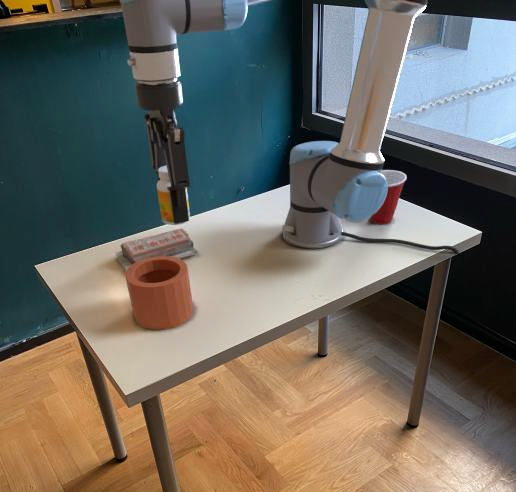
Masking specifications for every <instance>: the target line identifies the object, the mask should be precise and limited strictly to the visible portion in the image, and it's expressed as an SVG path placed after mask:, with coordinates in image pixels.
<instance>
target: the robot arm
mask: <svg viewBox="0 0 516 492" xmlns="http://www.w3.org/2000/svg"><path fill="white" fill-rule="evenodd" d="M271 1H273V0H119V4H120V6H121V10H122V12H121V13H122V17H123V22H124V28H125V33H126V34H125V35H126V39H127V44H128V45H127V46H128V52H129V57H130V58H129V59H127V61H126V62H127V65H128V66H129V67H131V70H132V76H133V79H134V80H136V82H135V83H134V91H135V92H134V93H135V97H136V105H137V107H138V108H139V109H141V110H142V111H143V110H144V111H148V112H147V113H143V120H144V123H145V126H146V133H147V139H148V146H149V153H150V160H151V168H152V170H153V171H155V175H156V177H157V182H158V181H159V180H160V178H159V172H158V169H159V168H160V167H163V166H167V170H168V175H169V179H170V184H171V187H167V189H168V191H170V198H171V205H172V212H173V219H174V223H175V224H178V223H183V222H185V223H187V222H190V219H189V216H188V207H187V199H186V191H185V188H186V187H187V188H190V185H191V183H190V176H189V167H188V161H187V152H186V151H187V150H186V145H185V144H186V143H185V129H184V127H179V122H178V118H176V113H175V109H176V108H179V107H182V106H183V103H184V96H183V87H182V82H181V80H180V79H179V77H180V76H181V74H182V73H181V66H180V65H181V64H180V57H179V47H178V42H177V35H186V34H198V33H209V32H227V31H230V30H236V29H239V28H241V27H242V26H243V25H244V23H245V21H246V19H247V14H248V8H249V7H250V8H251V7H253V6H257V5H261V4H264V3H265V4H266V3H268V2H271ZM364 2H365V5H366V6H367V11H368V13H367V18H366V22H365V26H364V30H363V35H362V40H361V44H360V49H359V54H358V58H357V63H356V67H355V71H354V76H353V81H352V84H351V85H352V86H351V89H350V94H349V99H348V103H347V108H346V113H345V117H344V122H343V126H342V130H341V135H340V140H339V142H336V141H332V140H315V141H308V142H304V143H300V144H297V145H295V146H293V147H292V149H291V150H290V155H289V162H288V165H289V209H288V212H287V214H286V218H285V221H284V223H283V224H282V237H283V239H284V241H285V242H286V243H289V244H290V245H292V246H294V247H298V248H303V249H323V248H327V247H332V246H334V245H336V244H337V243H339V242H340V241H341V240H342V238H343V237H347V238H351V239H354V240H357V241H361V242H367V243H390V244H391V243H392V244H401V245H405V246H411V247H415V248H419V249H424V250H428V251H429V250H430V251H443V250H449V251H452V252H453V253H454V254H456V255H459V254H461V253H460V251H459V250H458V248H456V247H455V246H452V245H435V246H434V245H427V244H423V243H417V242H414V241H409V240H404V239H399V238H398V239H396V238H372V237H363V236H360V235H357V234H353V233H349V232H345V231H343V225H342V221H341V220H345V221H347V222H350V223H360V222H364V221H366V220H368V219H370V217H371V216H372V215H373V214H375V213H376V212H377V211H378V210H379V209H380V207H381V206H382V204H383V203H384V201H385V199H386V196H387V192H388V183H387V182H386V178H385V177H384V176H383V174H381V171H382V170H383V167H384V164H385V158H384V157H383V155H382V153H381V151H380V150H381V148H382V147H381V146H382V142H383V139H384V136H385V132H386V127H387V123H388V120H389V117H390V113H391V108H392V106H393V105H392V104H393V101H394V98H395V93H396V89H397V85H398V82H399V78H400V73H401V70H402V67H403V62H404V59H405V55H406V52H407V47H408V43H409V40H410V36H411V33H412V28H413V24H414V21H415V18H416V17H417V16H418V15H419V14H420V13H422V12H423V11H424V10H425V9H426V7H427V4H428V0H364ZM183 224H184V223H183Z"/></svg>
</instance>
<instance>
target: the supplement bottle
mask: <svg viewBox="0 0 516 492" xmlns="http://www.w3.org/2000/svg"><path fill="white" fill-rule="evenodd" d="M158 172H159V176H158V178H160V180H159V181H158V180H157V183H156V190H157V197H158V205H159V211H160V217H161V221H162V223H164V224H165V225H169V226H180V225H182V224H185V223H186V222H183V223H178V224H175V223H174V219H173V212H172V205H171V198H170V191H168V189H167V187H171V184H170V179H169V175H168V170H167V166H163V167H160V168H159V169H158ZM185 191H186V199H187V207H188V216H189V220H190V219H191V212H190V211H191V210H190V203H189V202H190V201H189V195H188V194H189V193H188V187H186V188H185Z"/></svg>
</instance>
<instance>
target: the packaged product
mask: <svg viewBox="0 0 516 492" xmlns="http://www.w3.org/2000/svg"><path fill="white" fill-rule="evenodd" d="M120 249H121V250H119V251H116V252H115V254H114V255H115V256H116V258H117V260H118V261H119V263H120V264H121V266H122V267H123V269H124V270H125V272H126V271H127V269H128V268H129V267H130V266H131V265H133V264H134V263H136V262H138V261H140V260H143V259H146V258H150V257H157V256H170V257H175V258H178V259H180V260H182V259H185V258H189V257H191V256H195V255H198V253H199V252H198V250H197V249H196V248H195V247H194V241H193V239H192V237H191V236H190V234H188V233H187V231H186V230H185V229H184V228H177V229H174V230H169V231H165V232H161V233H157V234H154V235H150V236H146V237H142V238H139V239H135V240H130V241H127V242H123V243H121V244H120Z"/></svg>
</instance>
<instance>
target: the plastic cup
mask: <svg viewBox="0 0 516 492" xmlns="http://www.w3.org/2000/svg"><path fill="white" fill-rule="evenodd" d="M381 174H383V176H384V177H385V178H386V182H387V183H388V192H387V196H386V199H385V201H384V203H383V204H382V206H381V207H380V209H379V210H378V211H377V212H376V213H375V214H373V215H372V216H371V217H370V218H369V220H370V222H371V223H374V224H377V225H387V224H390V223H391V222H392V220H393V218H394V215H395V212H396V210H397V208H398V207H397V206H398V203H399V200H400V197H401V193H402V191H403V187H404V185H405V182H406V181H407V178H408V177H407V174H406V173H404V172H403V171H399V170H394V169H382V171H381Z"/></svg>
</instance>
